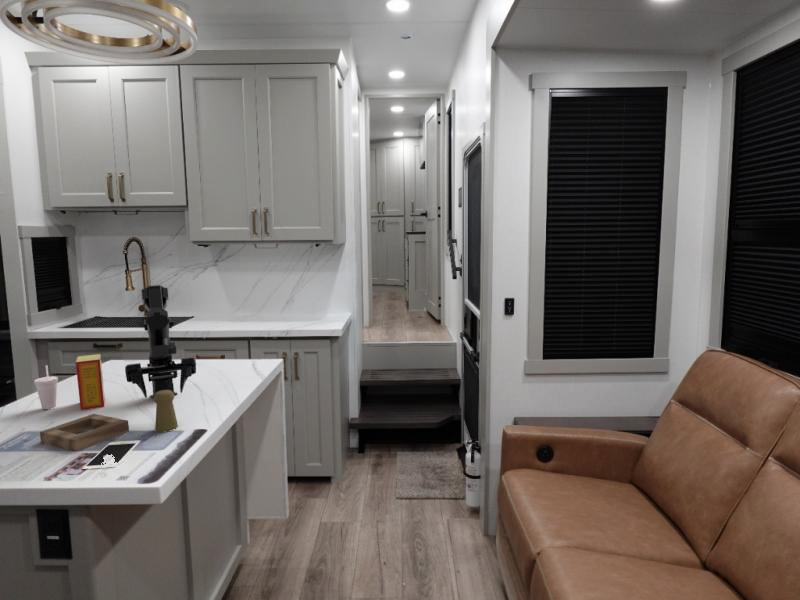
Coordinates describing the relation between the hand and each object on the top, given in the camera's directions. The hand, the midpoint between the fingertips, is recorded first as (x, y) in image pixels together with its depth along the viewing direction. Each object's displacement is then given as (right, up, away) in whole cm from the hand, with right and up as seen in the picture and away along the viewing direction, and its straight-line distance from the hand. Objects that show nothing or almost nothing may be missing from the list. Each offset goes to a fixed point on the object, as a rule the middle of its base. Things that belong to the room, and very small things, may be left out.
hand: (163, 394), depth 147 cm
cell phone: (-5, -13, -18) cm, 22 cm away
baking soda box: (-33, -8, +22) cm, 41 cm away
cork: (+1, -10, -1) cm, 10 cm away
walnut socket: (-19, -11, -6) cm, 22 cm away
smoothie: (-46, -8, +19) cm, 50 cm away
